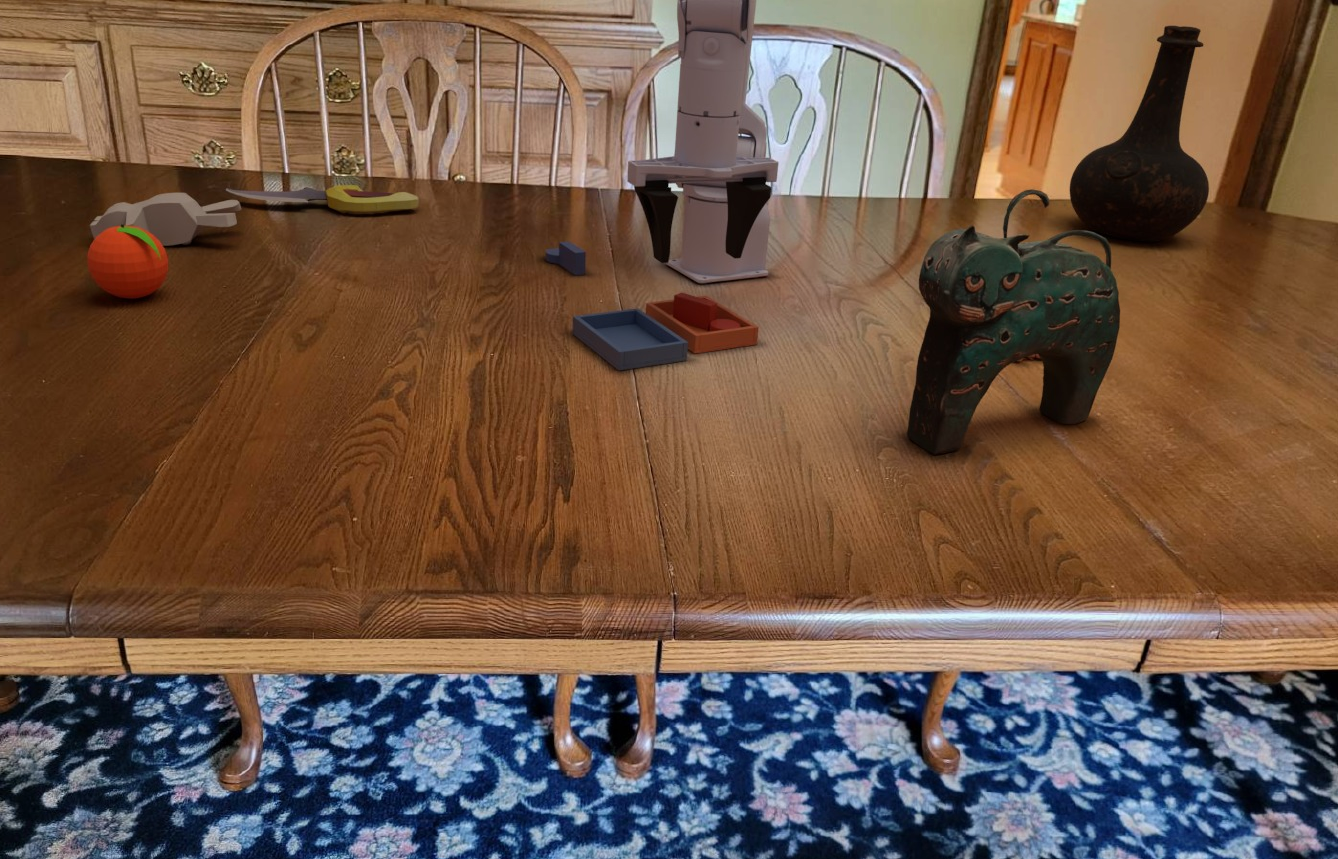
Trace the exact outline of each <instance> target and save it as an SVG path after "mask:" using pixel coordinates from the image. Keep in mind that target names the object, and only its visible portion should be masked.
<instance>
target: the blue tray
mask: <svg viewBox="0 0 1338 859" xmlns="http://www.w3.org/2000/svg"><path fill="white" fill-rule="evenodd" d="M572 335H573V336H575V337H576V338H577V339H578V340H580V341H581V342H582V343H583V344H585V345H586V346H587V347H588V348H590V349H591V350H592V351H593V352H595V354H597V355H598V356H600V357H601V358H602V359H603V360H604V361H606V362H607V363H608V364H609V365H611V366H612V367H613V368H614V369H615V370H617V371H618V372H620V371H625V370H626V371H627V370H632V369H638V368H647V367H652V366H653V367H654V366H658V365H667V364H671V363H678V362H685V361H686V362H687V361H688V342H687V341H685V340H684V339H683V338H681V337H680V336H678V335H677V334H675V333H674V332H672V331H671V330H669V329H668V328H666V327H665V326H663V325H662V324H660V323H659V322H657V321H656V320H655V319H653V318H652V317H650V316H649V315H647V314H646V312H644V311H643V310H641V309H640V308H637V307H636V308H629V309H621V310H612V311H605V312H595V313H589V314H580V315H573V316H572Z"/></svg>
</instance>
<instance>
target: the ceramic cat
mask: <svg viewBox="0 0 1338 859" xmlns="http://www.w3.org/2000/svg"><path fill="white" fill-rule="evenodd" d="M1030 195H1031V196H1037V197H1038V198H1039V199H1040V200H1041V202H1042V204H1043V207H1044V209H1046V208H1048V207H1049V206H1050V198H1049V196H1048V193H1045V192H1043V191H1042V190H1037V189H1034V188H1033V189H1032V188H1031V189H1025V190H1023V191H1021V192H1020V193H1018V194H1016V195H1015V196H1014V197H1013V198H1012V199H1011V200H1010V202H1009V204H1008V206H1007V208H1006V213H1005V216H1004V218H1003V225H1002V232H1003V237H1000V238H999V237H993V236H990V235H987V234H985V233H983V232H979V231H976V228H975V226H974V224H971V225H970V226H969V227H967V228H966V229H964V228H955V229H953V230H950V231H947V232H946V233H944V234H942V235H941V236H940V237H939V238H937V239H936V240H935V241H933V243H932V244H931V245H930V247H929V248H928V250H927V251H926V254H925V255H924V257H923V261H922V265H921V267H920V271H919V276H918V290H919V293H920V295H921V297H922V299H923V300H924V303H925V304H926V305H927V306H928V308H929V318H928V322H927V325H926V328H925V330H924V335H923V338H922V339H923V340H922V343H921V347H920V349H919V353H918V357H917V363H916V368H915V370H916V371H915V384H914V389H913V394H912V398H911V403H910V406H909V415H908V423H907V430H906V431H907V432H906V437H907V438H908V439H909V440H911V441H912V442H913V443H915V444H916V445H917V446H919V447H920V448H922V449H924V450H925V451H927V452H928V453H930V454H932V455H933V456H935V455H940V454H941V455H942V454H947V453H950V452H951V453H952V452H957V451H958V450H960V449H961V448H962V445H963V442H964V439H965V437H966V434H967V432H968V429H969V427H970V424H971V421H972V419H973V416H974V414H975V412H976V409H977V408H978V406H979V404H980V402H981V400H982V399H983V398H984V396H985V395H986V393H987V392H988V390H989V389H990V387H991V385H992V383H993V382H994V380H995V379H996V378H997V376H998V375H999V374H1000V373H1001V372H1002V371H1003V370H1004V369H1005V368H1006V367H1008V366H1009V365H1011V364H1014V363H1016V362H1019V361H1018V360H1020V359H1022V358H1024V359H1025V358H1028V357H1027V356H1030V355H1034V354H1038V355H1039V356H1040V357H1041V358H1040V360H1041V362H1042V365H1043V370H1042V371H1043V373H1042V374H1043V375H1042V376H1043V377H1042V393H1041V398H1040V404H1039V408H1038V409H1039V410H1038V411H1039V413H1040V414H1042V415H1043V416H1046V417H1049V418H1050V419H1051V420H1052V421H1054V422H1056V423H1059V424H1063V425H1076V424H1079V423H1083V422H1084V421H1086V420H1087V419H1088V418H1089V415H1090V413H1091V411H1092V408H1093V405H1094V402H1095V400H1096V396H1097V394H1098V392H1099V390H1100V387H1101V385H1102V383H1103V382H1104V378H1105V376H1106V374H1107V372H1108V369H1109V367H1110V365H1111V362H1112V361H1113V357H1114V354H1115V350H1116V347H1117V341H1118V336H1119V333H1120V326H1121V325H1120V324H1121V306H1120V301H1119V299H1120V298H1119V295H1120V292H1119V288H1118V284H1117V279H1116V277H1115V275H1114V273H1113V271H1112V250H1111V245H1110V243H1109V241H1108V239H1107V238H1106V237H1104V236H1102V235H1100V234H1098V233H1096V232H1093V231H1089V230H1085V229H1084V230H1083V229H1072V230H1067V231H1064V232H1061V233H1058V234H1056V235H1054V236H1052V237H1050V238H1047V239H1045V240H1041V241H1040V240H1039V241H1038V240H1037V241H1036V240H1035V241H1030V242H1029V241H1028V242H1023V241H1026V240H1027V239H1029V237H1030V234H1016V235H1012V236H1009V237H1008V227H1009V221H1010V215H1011V214H1012V211H1013V210H1014V208H1015V207H1016V205H1017V204H1018V203H1019V202H1020V201H1021V200H1022V199H1024V198H1025V197H1028V196H1030ZM1071 236H1081V237H1084V238H1087V239H1088V238H1090V239H1091V240H1092V239H1093V240H1095V241H1097V242H1099V243H1100V244H1101V246H1102V248H1103V249H1104V253H1105V262H1104V261H1103V260H1102V259H1101V258H1100V257H1099V256H1097V255H1095V254H1093V253H1092V252H1089V251H1087V250H1083V249H1080V248H1076V247H1074V246H1072V245H1070V244H1067V243H1062V242H1059V241H1061V240H1063V239H1065V238H1067V237H1071ZM1022 242H1023V243H1022Z"/></svg>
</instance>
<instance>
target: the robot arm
mask: <svg viewBox="0 0 1338 859" xmlns="http://www.w3.org/2000/svg"><path fill="white" fill-rule="evenodd" d="M756 6H757V0H677V5H676V20H677V29H678V44H677V45H678V46H677V47H678V48H677V56H678V57H679V58H680V63H679V64H680V65H679V79H678V94H677V110H676V126H675V142H674V154H673V156H664V157H657V158H648V159H640V160H637V159H636V160H628V162H627V178H626V179H627V183H629V184H630V185H632V186H633V188H634V192H635V194H636V196H637V198H638V200H639V203H640V205H641V208H642V210H643V214H644V216H645V220H646V222H647V225H648V230H649V234H650V239H651V245H652V251H653V252H652V253H653V258H654V259H655V260H656V261H658V262H659V263H660V264H665V265H666V266H669V267H670V268H672V269H674V270H675V271H677V272H678V273H681V274H683V275H684V276H686V277H687V278H688V279H691V280H693V281H694V282H696V283H698V284H706V283H716V282H725V281H732V280H733V281H734V280H743V279H750V278H759V277H767V276H769V271H768V270H766V262H767V253H768V245H769V244H768V243H769V236H770V235H769V234H770V226H771V225H770V224H771V215H770V210H769V206H768V202H769V200H770V199H771V196H772V189H773V188H772V186H770V185H768V184H767V183H777V180H778V174H779V173H778V172H779V161H777V160H776V159H774V158H771V157H767V156H766V155H767V135H768V127H766V122H765V120H763V118H762V117H760V116H759V114H757V113H756V112H755V111H754V110H753V109H752V108H751V107H750V106H749V105H748V104H747V102H746V101H747V92H748V81H749V73H750V64H751V62H750V61H751V55H752V45H753V44H752V43H753V36H754V28H755V17H756V9H757V8H756ZM670 184H675V185H676V187H677V188H678V189H682V196H684V205H683V206H684V207H683V221H682V232H681V233H682V234H681V235H682V236H681V247H680V248H681V249H680V258H670V257H671V241H672V227H673V221H674V216H675V212H676V207H677V203H678V200H679V196H678V195H677V194H676V193H674V192H672V187H671V186H669V185H670Z"/></svg>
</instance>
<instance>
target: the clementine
mask: <svg viewBox="0 0 1338 859" xmlns="http://www.w3.org/2000/svg"><path fill="white" fill-rule="evenodd" d="M87 251H88V252H87V268H88V270H89V273H90V277H91V278H92V279H93V281H94V282H95V283H96V284H97V285H98V286H99V287H100V288H101V289H102V290H104V291H105V292H106V293H108V294H110V295H112V296H115V297H117V298H121V299H129V300H133V299H134V300H135V299H140V298H143V297H147V296H150V295H151V294H153V293H154V292H156V291H157V290H158V289H159V288H160V287H161V286H162V284H163V283H164V282H165V280H166V278H167V275H168V272H169V258H168V254H167V251H166V249H165V246H163V245H162V244H161V242H160V241H159V240H158V239H157V238H156V237H155V236H154V235H153V234H151V233H149V232H147V231H146V230H144V229H142V228H139V227H136V226H124V225H122V224H121V226H116V227H111V228H108V229H106V230H105V231H103V232H102V233H101V234H99V235H98V236H97V237H96V238H95V239H94V238H93V241H92V242H91V244H90V245H89V248H88V250H87Z"/></svg>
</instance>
